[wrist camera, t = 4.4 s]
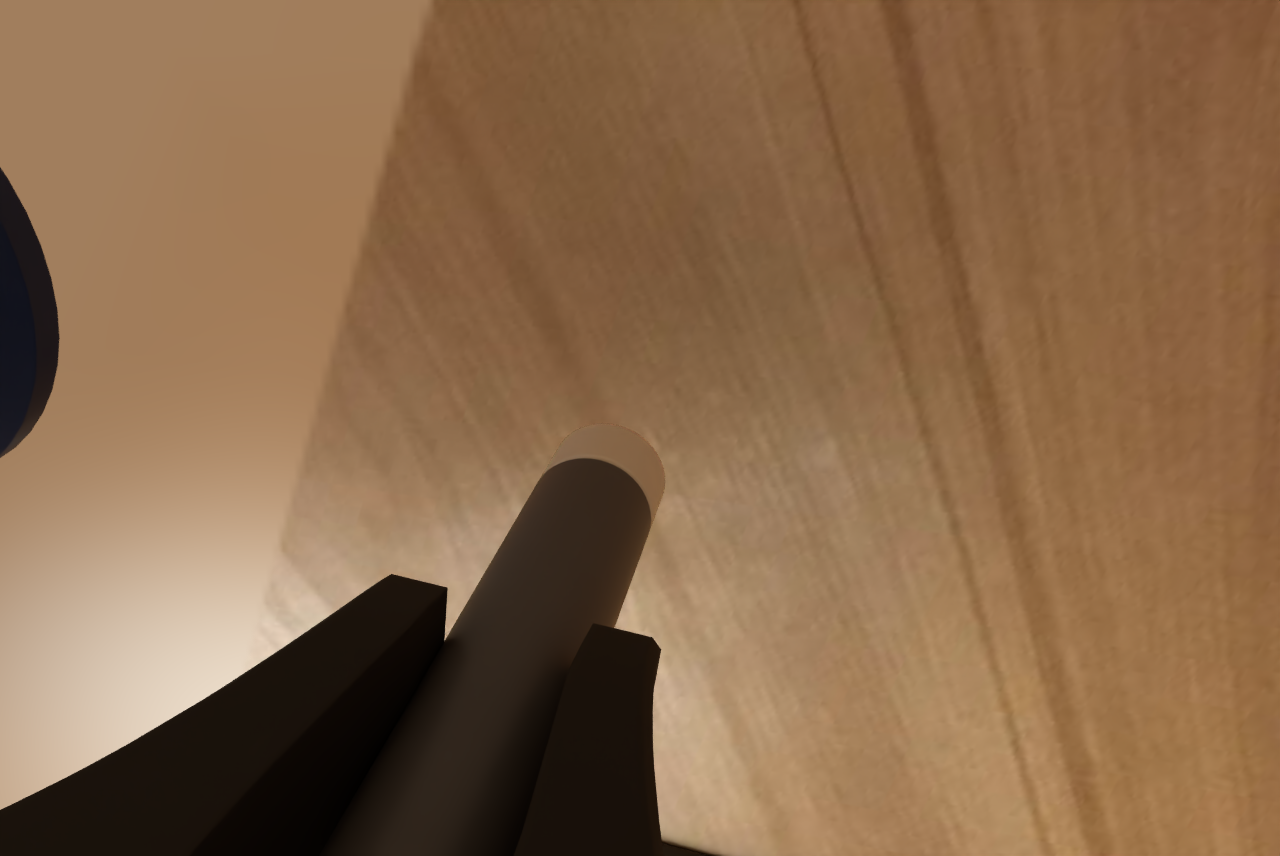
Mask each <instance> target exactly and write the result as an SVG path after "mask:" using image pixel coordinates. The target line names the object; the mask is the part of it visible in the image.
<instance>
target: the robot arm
mask: <svg viewBox="0 0 1280 856" xmlns="http://www.w3.org/2000/svg"><path fill="white" fill-rule="evenodd" d="M446 604H447V587H443V586H439V585H434V584H430V583H426V582H422V581H418V580H414V579H410V578H406V577H402V576H397V575H393V574H391V575H389V576H387V577H386V578H384V579H382V580H381V581H379V582H378V583H376V584H375V585H373V586H372V587H370V588H369V589H367V590H366V591H364V592H363V593H362V594H360V595H359V596H357V597H356V598H354V599H353V600H352V601H350V602H349V603H347V604H346V605H344V606H343V607H341V608H340V609H339V610H337V611H336V612H334V613H333V614H331V615H330V616H329V617H327V618H326V619H324V620H323V621H321V622H320V623H319V624H317V625H316V626H314V627H313V628H311V629H310V630H308V631H307V632H305V633H304V634H303V635H301V636H300V637H298V638H297V639H295V640H294V641H292V642H291V643H289V644H288V645H286V646H285V647H284V648H282V649H281V650H279V651H277V652H276V653H274V654H273V655H271V656H270V657H268V658H267V659H265V660H264V661H262V662H261V663H259V664H258V665H256V666H255V667H253V668H252V669H250V670H248V671H247V672H245V673H244V674H242V675H241V676H239V677H238V678H236V679H235V680H233V681H232V682H230V683H229V684H227V685H226V686H224V687H222V688H221V689H219V690H218V691H216V692H215V693H213V694H211V695H210V696H208V697H207V698H205V699H203V700H202V701H200V702H198V703H197V704H195V705H194V706H192V707H190V708H188V709H187V710H185V711H183V712H182V713H180V714H178V715H176V716H175V717H173V718H172V719H170V720H168V721H166V722H165V723H163V724H161V725H160V726H158V727H156V728H154V729H153V730H151V731H150V732H148V733H146V734H144V735H143V736H141V737H139V738H138V739H136V740H134V741H133V742H131V743H129V744H127V745H126V746H124V747H122V748H120V749H119V750H117V751H115V752H113V753H111V754H109V755H107V756H106V757H104V758H102V759H100V760H98V761H96V762H95V763H93V764H91V765H89V766H87V767H86V768H83V769H82V770H80V771H78V772H76V773H74V774H72V775H70V776H68V777H67V778H64V779H62V780H60V781H58V782H56V783H54V784H53V785H50V786H48V787H46V788H44V789H42V790H40V791H39V792H36V793H34V794H32V795H30V796H28V797H26V798H24V799H22V800H20V801H18V802H16V803H14V804H12V805H10V806H8V807H5V808H3V809H1V810H0V856H319V855H320V853H321V851H322V850H323V848H324V846H325V844H326V843H327V841H328V839H329V838H330V836H331V834H332V833H333V831H334V829H335V827H336V826H337V824H338V822H339V821H340V819H341V817H342V815H343V814H344V812H345V810H346V809H347V807H348V805H349V804H350V802H351V800H352V798H353V797H354V795H355V793H356V792H357V790H358V788H359V786H360V785H361V783H362V781H363V780H364V778H365V776H366V775H367V773H368V771H369V769H370V768H371V766H372V764H373V763H374V761H375V759H376V757H377V756H378V754H379V752H380V751H381V749H382V747H383V746H384V744H385V742H386V740H387V739H388V737H389V735H390V734H391V732H392V730H393V728H394V727H395V725H396V723H397V722H398V720H399V718H400V717H401V715H402V713H403V711H404V710H405V708H406V706H407V705H408V703H409V701H410V699H411V698H412V696H413V694H414V693H415V691H416V689H417V688H418V686H419V684H420V682H421V681H422V679H423V677H424V676H425V674H426V672H427V670H428V669H429V667H430V665H431V664H432V662H433V660H434V659H435V657H436V655H437V653H438V652H439V650H440V648H441V647H442V645H443V643H444V637H445V621H446ZM660 653H661V649H660V647H659V646H658V645H657V643H656V642H655V640H654V639H653V638H652V637H648V636H644V635H640V634H636V633H632V632H628V631H624V630H620V629H615V628H611V627H607V626H603V625H599V624H595V623H593V624H592V626H591V628H590V629H589V631H588V633H587V635H586V637H585V638H584V640H583V642H582V644H581V646H580V648H579V650H578V652H577V654H576V656H575V658H574V660H573V662H572V664H571V666H570V668H569V671H568V674H567V677H566V681H565V684H564V688H563V691H562V694H561V698H560V701H559V705H558V708H557V712H556V715H555V719H554V722H553V726H552V729H551V733H550V736H549V740H548V743H547V747H546V750H545V754H544V757H543V761H542V764H541V768H540V771H539V775H538V778H537V782H536V785H535V789H534V792H533V796H532V799H531V803H530V806H529V810H528V813H527V817H526V820H525V824H524V827H523V830H522V833H521V836H520V839H519V842H518V845H517V847H516V850H515V853H514V856H664V855H663V847H662V840H661V832H660V824H659V815H658V804H657V794H656V783H655V772H654V757H653V692H654V685H655V680H656V674H657V669H658V664H659V658H660Z"/></svg>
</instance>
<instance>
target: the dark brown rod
mask: <svg viewBox="0 0 1280 856" xmlns="http://www.w3.org/2000/svg"><path fill="white" fill-rule="evenodd" d="M664 489H665V473H664V468H663V465H662V462H661V460H660V458H659V456H658V454H657V453H656V451H655V450H654V448H653V447H652V446H651V445H650V444H649V443H648V442H647V441H646V440H645V439H644V438H643V437H641V436H640V435H639V434H637V433H635V432H634V431H632V430H630V429H627V428H625V427H622V426H618V425H614V424H593V425H588V426H585V427H582V428H579V429H577V430H575V431H573V432H572V433H571V434H569V435H568V436H567V437H566V438H565V439H564V440H563V441H562V443H561V444H560V445H559V447H558V449H557V450H556V452H555V454H554V455H553V457H552V459H551V461H550V462H549V464H548V466H547V467H546V469H545V471H544V473H543V474H542V476H541V478H540V480H539V481H538V483H537V484H536V486H535V488H534V490H533V491H532V493H531V495H530V496H529V498H528V500H527V502H526V503H525V505H524V507H523V508H522V510H521V512H520V513H519V515H518V517H517V519H516V520H515V522H514V524H513V525H512V527H511V529H510V531H509V532H508V534H507V536H506V537H505V539H504V541H503V542H502V544H501V546H500V548H499V549H498V551H497V553H496V554H495V556H494V558H493V560H492V561H491V563H490V565H489V566H488V568H487V570H486V571H485V573H484V575H483V577H482V578H481V580H480V582H479V583H478V585H477V587H476V589H475V590H474V592H473V594H472V595H471V597H470V599H469V601H468V602H467V604H466V606H465V607H464V609H463V611H462V612H461V614H460V616H459V618H458V619H457V621H456V623H455V624H454V626H453V628H452V630H451V631H450V633H449V635H448V636H447V638H446V640H445V641H444V643H443V645H442V647H441V648H440V650H439V652H438V653H437V655H436V657H435V659H434V660H433V662H432V664H431V665H430V667H429V669H428V670H427V672H426V674H425V676H424V677H423V679H422V681H421V682H420V684H419V686H418V688H417V689H416V691H415V693H414V694H413V696H412V698H411V699H410V701H409V703H408V705H407V706H406V708H405V710H404V711H403V713H402V715H401V717H400V718H399V720H398V722H397V723H396V725H395V727H394V728H393V730H392V732H391V734H390V735H389V737H388V739H387V740H386V742H385V744H384V746H383V747H382V749H381V751H380V752H379V754H378V756H377V757H376V759H375V761H374V763H373V764H372V766H371V768H370V769H369V771H368V773H367V775H366V776H365V778H364V780H363V781H362V783H361V785H360V786H359V788H358V790H357V792H356V793H355V795H354V797H353V798H352V800H351V802H350V804H349V805H348V807H347V809H346V810H345V812H344V814H343V815H342V817H341V819H340V821H339V822H338V824H337V826H336V827H335V829H334V831H333V833H332V834H331V836H330V838H329V839H328V841H327V843H326V844H325V846H324V848H323V850H322V851H321V853H320V855H319V856H514V853H515V850H516V847H517V845H518V842H519V839H520V836H521V833H522V830H523V827H524V824H525V820H526V817H527V813H528V810H529V806H530V803H531V799H532V796H533V792H534V789H535V785H536V782H537V778H538V775H539V771H540V768H541V764H542V761H543V757H544V754H545V750H546V747H547V743H548V740H549V736H550V733H551V729H552V726H553V722H554V719H555V715H556V712H557V708H558V705H559V701H560V698H561V694H562V691H563V688H564V684H565V681H566V677H567V674H568V671H569V668H570V666H571V664H572V662H573V660H574V658H575V656H576V654H577V652H578V650H579V648H580V646H581V644H582V642H583V640H584V638H585V637H586V635H587V633H588V631H589V629H590V628H591V626H592V624H593V623H595V624H599V625H603V626H607V627H611V628H614V627H615V624H616V622H617V619H618V616H619V613H620V611H621V608H622V605H623V602H624V600H625V597H626V594H627V591H628V589H629V586H630V583H631V581H632V578H633V575H634V572H635V570H636V567H637V564H638V561H639V559H640V556H641V553H642V550H643V548H644V545H645V542H646V540H647V537H648V534H649V531H650V528H651V526H652V523H653V520H654V518H655V515H656V512H657V509H658V507H659V504H660V501H661V499H662V496H663V493H664Z"/></svg>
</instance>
